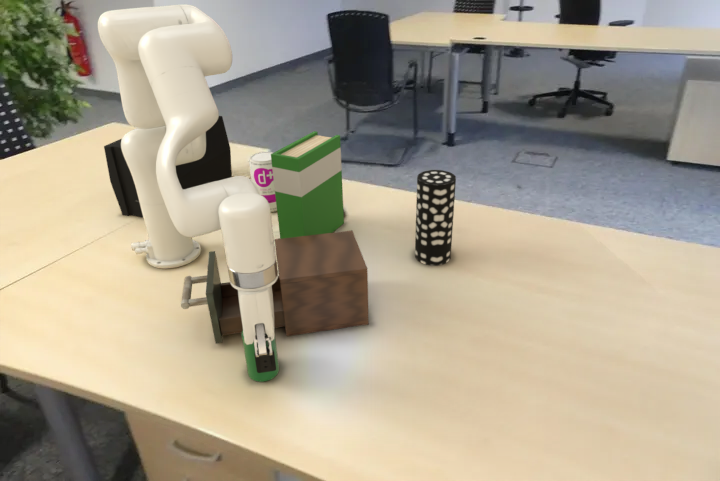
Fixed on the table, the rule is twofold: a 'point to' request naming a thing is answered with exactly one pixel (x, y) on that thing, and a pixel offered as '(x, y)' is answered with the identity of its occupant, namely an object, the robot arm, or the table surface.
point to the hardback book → (308, 186)
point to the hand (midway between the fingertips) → (265, 357)
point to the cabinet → (322, 282)
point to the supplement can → (263, 177)
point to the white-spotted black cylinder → (434, 216)
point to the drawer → (225, 301)
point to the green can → (251, 362)
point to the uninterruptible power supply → (189, 174)
